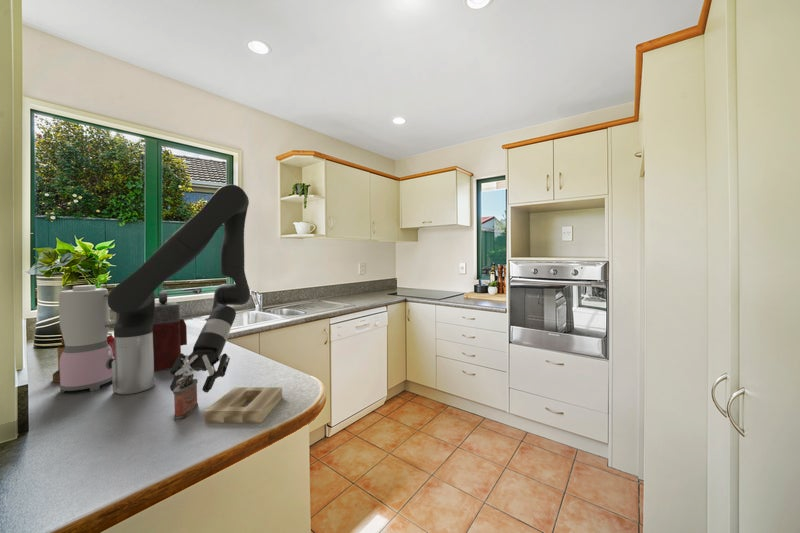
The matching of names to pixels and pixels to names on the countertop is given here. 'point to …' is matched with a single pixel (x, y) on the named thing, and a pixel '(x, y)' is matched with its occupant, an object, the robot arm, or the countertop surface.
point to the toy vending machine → (167, 333)
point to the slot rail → (255, 412)
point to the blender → (85, 338)
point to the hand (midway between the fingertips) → (189, 391)
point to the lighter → (185, 397)
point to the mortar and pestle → (60, 350)
